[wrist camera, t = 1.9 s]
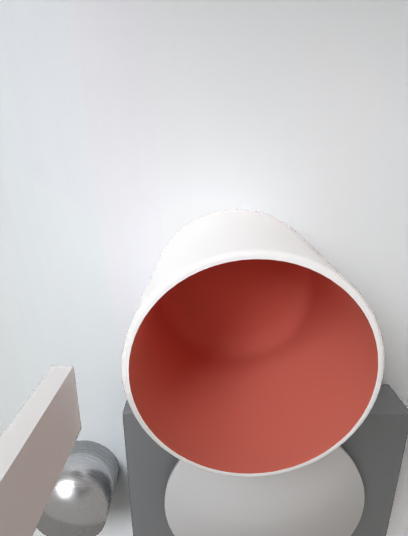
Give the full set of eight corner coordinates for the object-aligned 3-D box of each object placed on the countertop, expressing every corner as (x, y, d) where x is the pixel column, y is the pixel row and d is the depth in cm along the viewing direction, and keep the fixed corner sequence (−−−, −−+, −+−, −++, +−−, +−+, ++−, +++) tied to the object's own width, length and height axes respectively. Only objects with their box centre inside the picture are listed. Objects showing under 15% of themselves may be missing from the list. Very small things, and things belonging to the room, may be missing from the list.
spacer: (49, 440, 27) (24, 487, 24) (116, 440, 27) (101, 487, 24) (58, 490, 29) (36, 542, 25) (121, 490, 29) (108, 542, 25)
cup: (345, 271, 23) (443, 358, 14) (243, 378, 26) (265, 514, 16) (221, 170, 21) (234, 189, 12) (125, 296, 24) (70, 396, 14)
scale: (131, 384, 26) (119, 425, 22) (388, 384, 26) (420, 426, 22) (142, 523, 30) (133, 578, 26) (363, 524, 30) (386, 579, 26)
